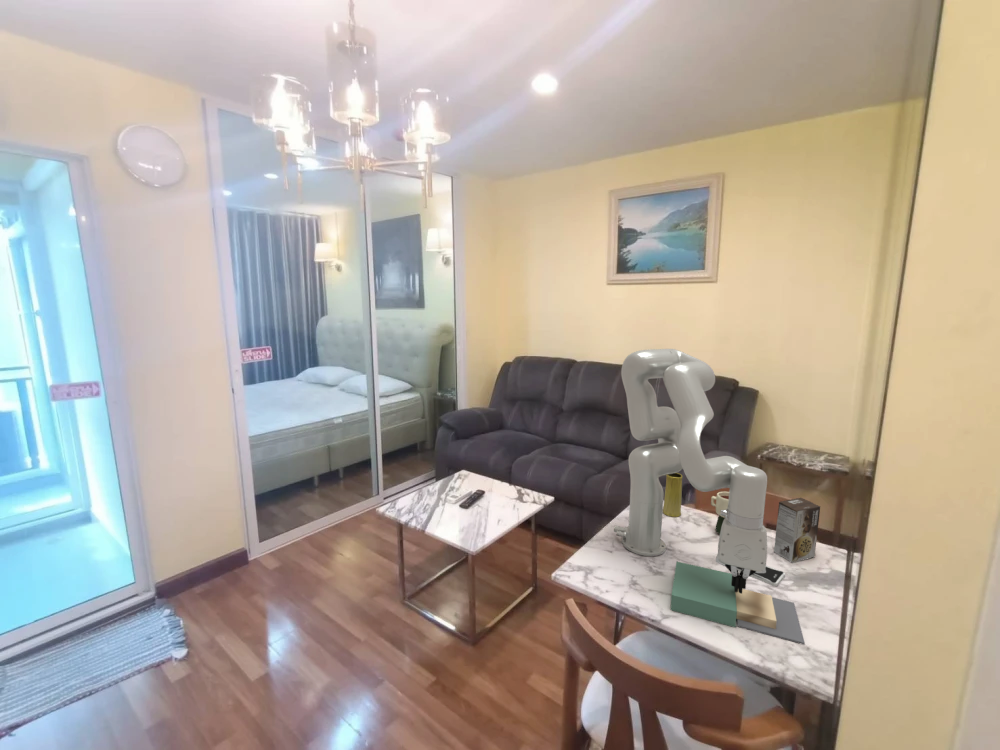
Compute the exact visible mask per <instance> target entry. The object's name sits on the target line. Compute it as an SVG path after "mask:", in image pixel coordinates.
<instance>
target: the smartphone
mask: <svg viewBox="0 0 1000 750" xmlns="http://www.w3.org/2000/svg"><path fill="white" fill-rule="evenodd" d="M737 570H738V572H740V571H742V568H740V567H737ZM749 577H751V578H753V579H755V580H757V581H761V582H763V583H765V584H768V585H770V586H773V587H778V586H779V585H780V584H781V582H783V580H784V578H785V577H786V573H785V572H784V571H782V570H780V569H777V568H774V567H772V566H768V565H767V564H766V573H754V574H753V575H751V576H749Z"/></svg>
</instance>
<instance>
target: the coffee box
mask: <svg viewBox="0 0 1000 750" xmlns="http://www.w3.org/2000/svg"><path fill="white" fill-rule="evenodd" d="M820 511H821V506H820V505H818V504H816V503H814V502H812V501H810V500H807V499H805V498H802V497H798V498H792V499H787V500H782V501H781V500H780V501H779V502H778V509H777V518H776V519H777V520H776V529H775V536H774V537H775V538H774V547H773V552H774V554H776V555H778V556H780V557H781V558H783V557H784V558H783V559H786V560H787V561H788V560H789V562H790V561H791V562H790V563H792V562H793V563H796V561H797V562H800V561H799V560H801V561H804V560H803V559H805V560H808V559H807V558H809V559H812V558H811V557H813V558H815V557H814V556H816V549H817V548H816V547H817V539H818V538H817V537H818V533H819V523H820V513H821V512H820Z"/></svg>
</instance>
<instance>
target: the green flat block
mask: <svg viewBox="0 0 1000 750" xmlns="http://www.w3.org/2000/svg"><path fill="white" fill-rule="evenodd" d="M673 575H674V576H673V582H672V588H671V589H672V590H671V598H670V611H673V612H676V613H680V614H684V615H688V616H690V617H691V616H692V617H696V618H699V619H703V620H707V621H710V622H714V623H717V624H721V625H725V626H729V627H733V628H736V625H737V624H736V623H737V619H736V615H737V606H736V593H735V591H734V586H731V582H732V573H731V572H725V571H722V570H716V569H712V568H707V567H704V566H700V565H695V564H691V563H685V562H681V561H676V563H675V569H674V574H673Z"/></svg>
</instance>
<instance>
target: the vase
mask: <svg viewBox="0 0 1000 750" xmlns="http://www.w3.org/2000/svg"><path fill="white" fill-rule="evenodd" d="M665 476H666V479H665V480H666V482H665V489H664V490H665V491H664V497H663V512H662V514H664V515H666V516H667V517H671V518H672V517H673V518H678V517H681V516H682V511H681V510H682V495H683V494H682V491H683V475H682V474H681V473H680V472H676V473H673V474H668V475H665Z"/></svg>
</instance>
